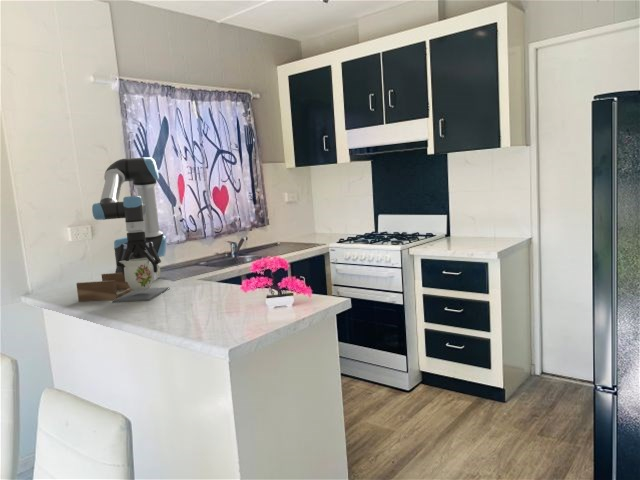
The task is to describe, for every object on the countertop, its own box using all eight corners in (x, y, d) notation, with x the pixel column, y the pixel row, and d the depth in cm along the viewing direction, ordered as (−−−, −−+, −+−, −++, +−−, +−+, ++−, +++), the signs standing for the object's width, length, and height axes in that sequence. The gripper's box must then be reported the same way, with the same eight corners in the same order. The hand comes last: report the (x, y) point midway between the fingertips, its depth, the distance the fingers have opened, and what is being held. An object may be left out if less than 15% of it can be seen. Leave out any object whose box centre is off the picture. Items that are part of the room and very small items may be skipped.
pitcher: (167, 285, 217) (164, 255, 216) (128, 294, 204) (125, 262, 203) (155, 283, 225) (152, 254, 223) (117, 292, 212) (113, 260, 210)
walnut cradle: (104, 290, 235) (103, 273, 234) (138, 288, 234) (136, 271, 233) (78, 301, 211) (76, 283, 210) (115, 299, 210) (113, 281, 209)
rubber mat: (135, 290, 227) (135, 289, 227) (169, 288, 226) (169, 287, 226) (112, 302, 203) (112, 300, 203) (149, 300, 202) (149, 298, 202)
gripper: (105, 234, 209) (110, 283, 211) (159, 230, 208) (164, 280, 210) (112, 232, 216) (118, 280, 218) (165, 229, 215) (170, 277, 217)
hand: (140, 280), depth 214 cm, fingers closed on pitcher, 11 cm apart
